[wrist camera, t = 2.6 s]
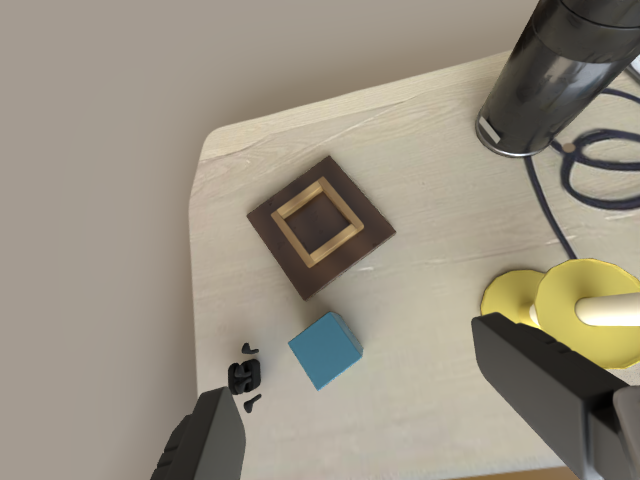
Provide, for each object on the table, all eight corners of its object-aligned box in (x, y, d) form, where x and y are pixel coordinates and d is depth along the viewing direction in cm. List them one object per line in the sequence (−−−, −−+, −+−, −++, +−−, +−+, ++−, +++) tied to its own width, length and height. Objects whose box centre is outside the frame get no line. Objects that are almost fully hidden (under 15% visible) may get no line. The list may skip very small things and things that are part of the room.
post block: (338, 314, 36) (329, 311, 27) (363, 348, 34) (362, 357, 26) (306, 338, 35) (287, 343, 27) (330, 374, 34) (317, 391, 25)
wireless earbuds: (264, 404, 34) (247, 417, 29) (243, 406, 34) (223, 420, 30) (260, 340, 36) (244, 343, 31) (240, 343, 36) (221, 346, 32)
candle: (530, 384, 31) (1356, 690, 5) (460, 304, 34) (758, 245, 8) (604, 325, 31) (1714, 336, 5) (528, 252, 34) (1015, 39, 9)
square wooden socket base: (330, 158, 41) (327, 148, 39) (395, 234, 37) (397, 228, 35) (248, 218, 41) (241, 211, 38) (305, 301, 37) (301, 299, 34)
